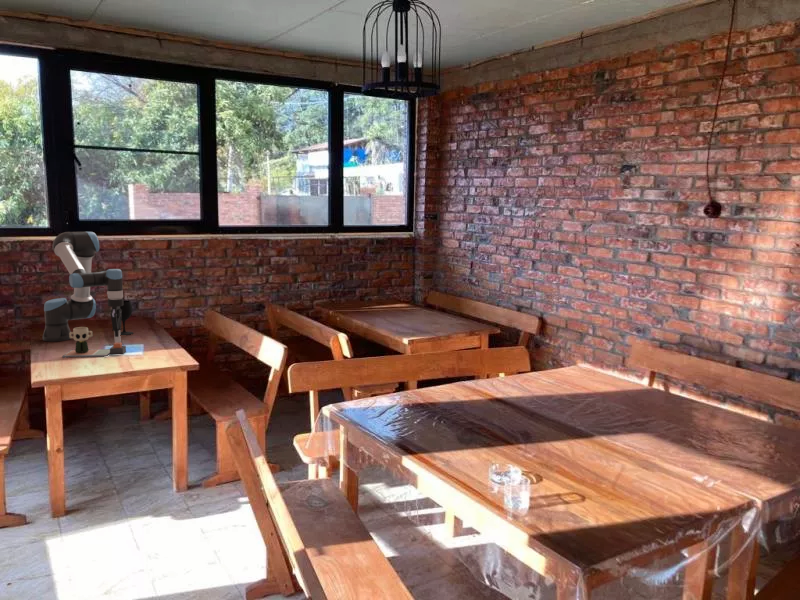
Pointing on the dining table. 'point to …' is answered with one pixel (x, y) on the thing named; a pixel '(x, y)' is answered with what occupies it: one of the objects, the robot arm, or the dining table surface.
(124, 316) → the wine glass
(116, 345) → the button cap
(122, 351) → the button housing
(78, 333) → the character mug
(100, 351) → the picture board
